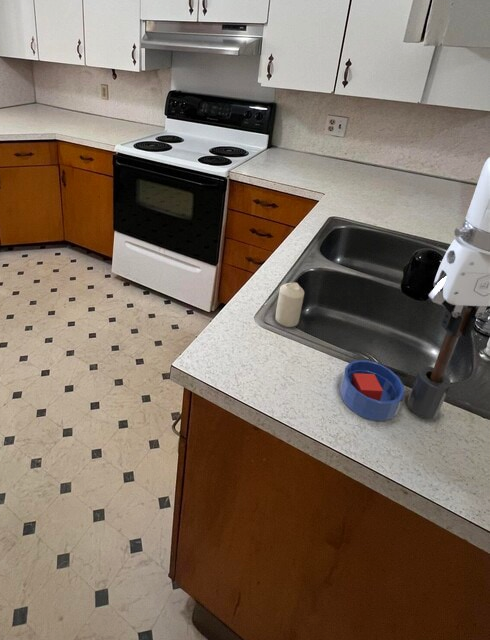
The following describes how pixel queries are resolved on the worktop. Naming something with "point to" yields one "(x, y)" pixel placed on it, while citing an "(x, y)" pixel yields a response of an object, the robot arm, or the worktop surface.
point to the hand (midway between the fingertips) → (454, 330)
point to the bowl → (369, 406)
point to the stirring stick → (448, 349)
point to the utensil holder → (427, 394)
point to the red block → (367, 385)
